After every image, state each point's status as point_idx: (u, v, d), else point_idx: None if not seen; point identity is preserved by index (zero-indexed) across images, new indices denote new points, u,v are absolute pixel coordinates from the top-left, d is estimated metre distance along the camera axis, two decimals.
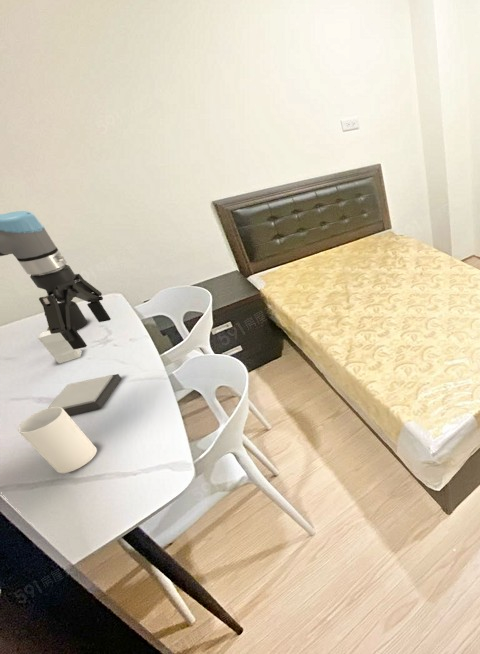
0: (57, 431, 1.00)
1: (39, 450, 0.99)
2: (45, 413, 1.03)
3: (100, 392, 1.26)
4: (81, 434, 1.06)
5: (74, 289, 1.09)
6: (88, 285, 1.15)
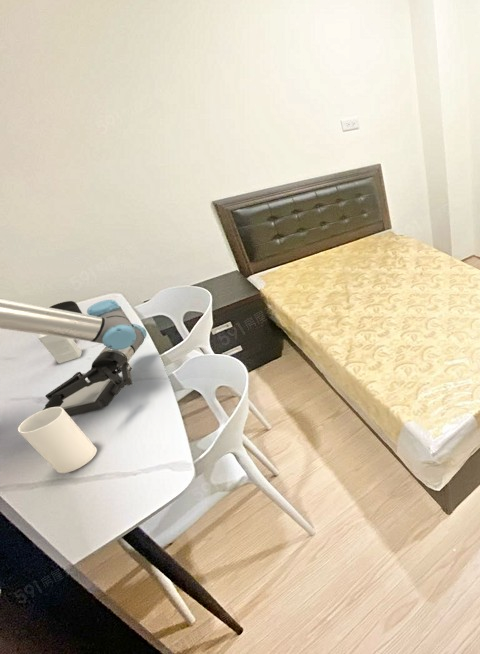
0: (57, 431, 1.00)
1: (39, 450, 0.99)
2: (45, 413, 1.03)
3: (100, 392, 1.26)
4: (81, 434, 1.06)
5: None
6: None
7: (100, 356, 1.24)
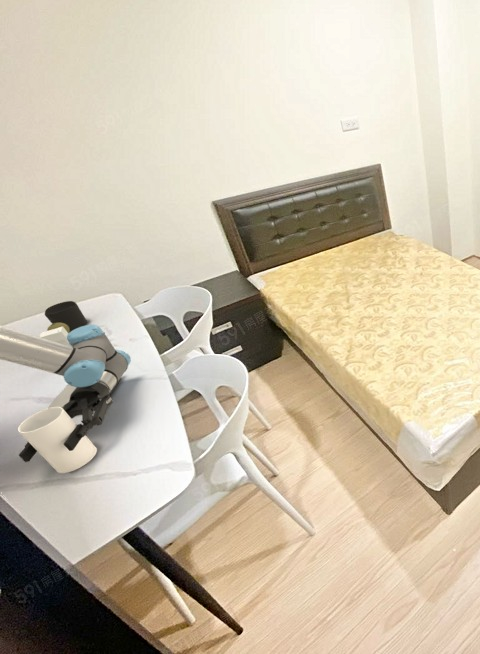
0: (57, 431, 1.00)
1: (39, 450, 0.99)
2: (45, 413, 1.03)
3: None
4: None
5: None
6: None
7: (79, 387, 1.14)
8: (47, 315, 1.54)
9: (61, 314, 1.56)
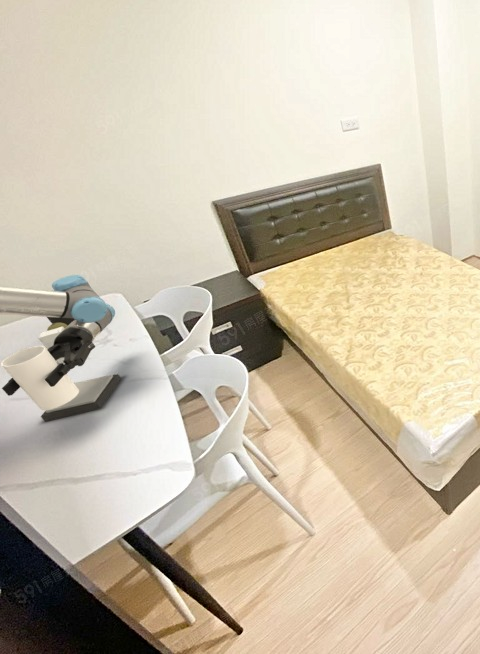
0: (39, 367, 1.05)
1: (22, 385, 1.04)
2: (28, 351, 1.08)
3: (100, 392, 1.26)
4: None
5: None
6: None
7: (63, 332, 1.19)
8: None
9: None
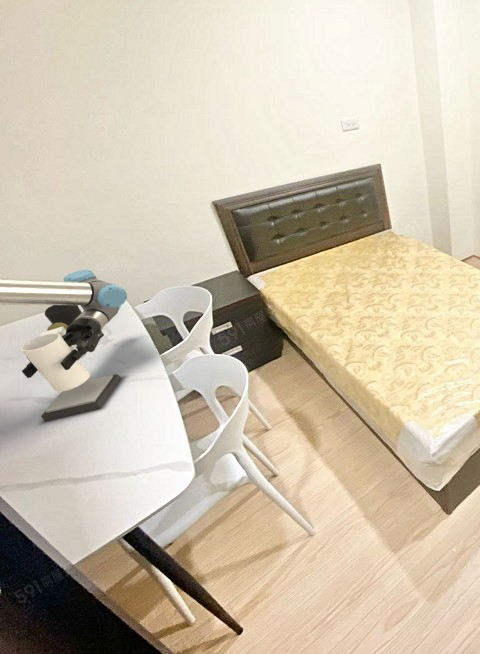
0: (54, 352, 1.16)
1: (39, 368, 1.15)
2: (44, 338, 1.19)
3: (100, 392, 1.26)
4: None
5: None
6: None
7: (74, 322, 1.30)
8: (47, 315, 1.54)
9: (61, 314, 1.56)
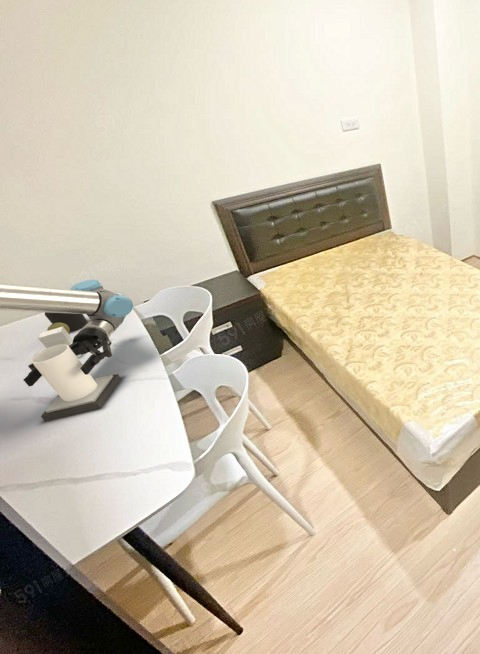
0: (63, 363, 1.18)
1: (48, 379, 1.17)
2: (53, 349, 1.21)
3: (100, 392, 1.26)
4: None
5: None
6: None
7: (81, 331, 1.32)
8: (47, 315, 1.54)
9: (61, 314, 1.56)
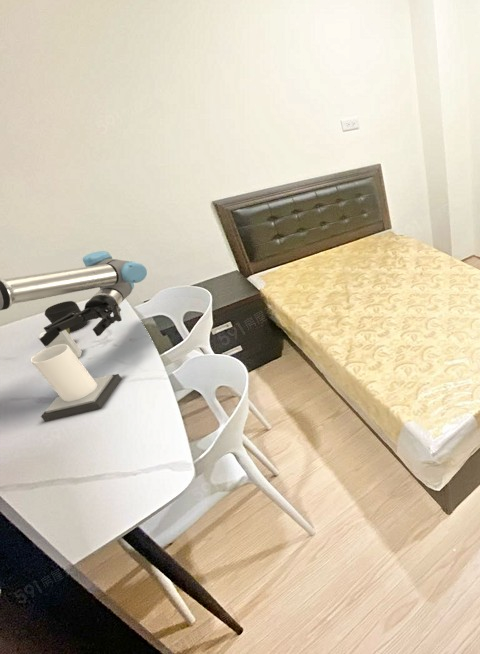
0: (63, 363, 1.18)
1: (48, 379, 1.17)
2: (53, 349, 1.21)
3: (100, 392, 1.26)
4: (84, 369, 1.24)
5: (91, 318, 1.38)
6: None
7: (92, 298, 1.40)
8: (47, 315, 1.54)
9: (61, 314, 1.56)
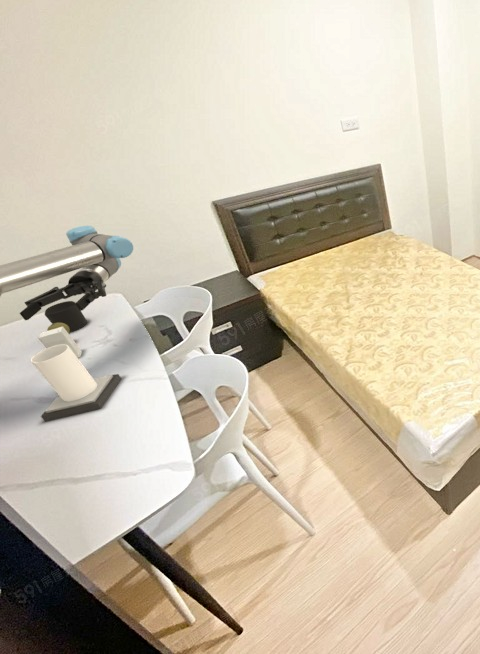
0: (63, 363, 1.18)
1: (48, 379, 1.17)
2: (53, 349, 1.21)
3: (100, 392, 1.26)
4: (84, 369, 1.24)
5: None
6: None
7: (76, 273, 1.35)
8: (47, 315, 1.54)
9: (61, 314, 1.56)
